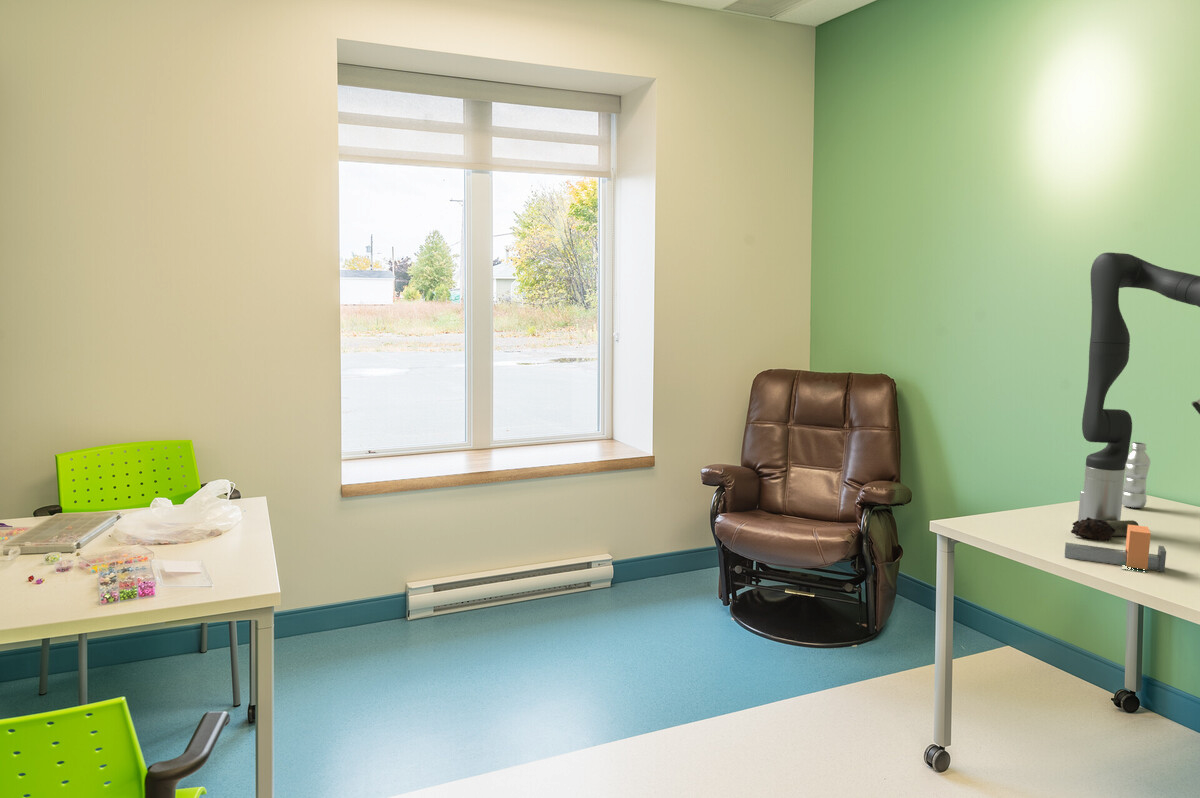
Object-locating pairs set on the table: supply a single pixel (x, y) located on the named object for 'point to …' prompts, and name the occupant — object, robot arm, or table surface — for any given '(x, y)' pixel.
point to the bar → (1113, 556)
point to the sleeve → (1137, 546)
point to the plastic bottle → (1136, 476)
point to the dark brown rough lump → (1101, 528)
